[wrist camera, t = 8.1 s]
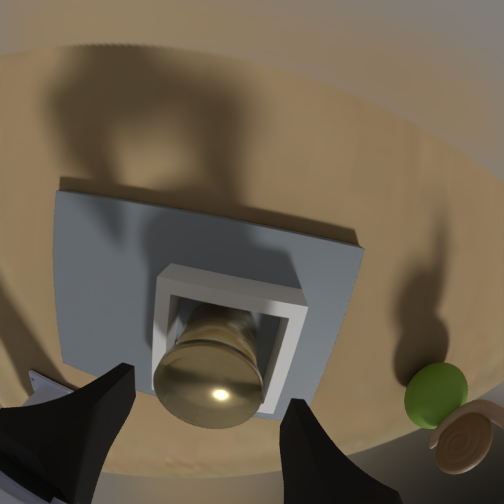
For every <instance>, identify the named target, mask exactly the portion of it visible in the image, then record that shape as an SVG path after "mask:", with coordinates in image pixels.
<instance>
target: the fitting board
mask: <svg viewBox="0 0 504 504" xmlns="http://www.w3.org/2000/svg"><path fill="white" fill-rule="evenodd" d="M364 250H365V249H364V248H363V247H361V246H360V245H356V244H351V243H347V242H343V241H338V240H334V239H329V238H325V237H320V236H315V235H311V234H306V233H301V232H297V231H292V230H287V229H282V228H278V227H273V226H268V225H263V224H258V223H253V222H248V221H243V220H238V219H233V218H228V217H222V216H217V215H212V214H207V213H201V212H196V211H190V210H185V209H179V208H174V207H168V206H162V205H157V204H151V203H145V202H139V201H133V200H127V199H121V198H115V197H109V196H102V195H96V194H89V193H83V192H76V191H69V190H58V191H56V197H55V210H54V231H53V271H54V292H55V305H56V315H57V324H58V332H59V339H60V346H61V352H62V358H63V363H65V364H68V365H70V366H72V367H75V368H77V369H79V370H82V371H84V372H87V373H89V374H92V375H94V376H97V377H101V376H102V375H104V374H105V373H107V372H108V371H110V370H111V369H113V368H114V367H116V366H117V365H119V364H120V363H122V362H124V363H127V364H130V365H133V366H135V390H137V391H140V392H144V393H147V394H150V395H154V396H156V393H155V390H154V386H153V376H154V372H155V370H156V368H157V366H158V364H159V362H160V360H161V358H162V356H163V355H164V354H165V353H166V352H167V351H168V350H169V349H170V348H171V347H173V346H174V345H175V344H176V342H177V340H178V338H179V336H180V334H181V332H182V330H183V328H184V326H185V324H186V323H187V321H188V319H189V317H190V315H191V313H192V312H193V310H194V309H195V308H196V307H197V306H199V305H200V304H202V303H204V302H208V303H212V304H217V305H222V306H227V307H232V308H237V309H242V310H247V311H249V312H250V313H251V315H252V316H253V318H254V320H255V322H256V325H257V362H256V366H257V368H258V370H259V372H260V374H261V377H262V402H261V405H260V407H259V409H258V411H257V412H256V414H255V415H254V416H253V417H258V418H265V419H274V420H283V418H284V415H285V413H286V410H287V408H288V405H289V403H290V400H291V398H297V399H304V400H305V401H306V403H307V404H308V406H309V405H310V403H311V401H312V398H313V396H314V394H315V391H316V389H317V387H318V384H319V382H320V380H321V377H322V375H323V372H324V370H325V367H326V365H327V362H328V360H329V357H330V354H331V352H332V349H333V346H334V344H335V341H336V338H337V336H338V333H339V330H340V327H341V324H342V321H343V318H344V316H345V313H346V310H347V307H348V303H349V300H350V297H351V294H352V291H353V288H354V284H355V281H356V278H357V274H358V271H359V268H360V264H361V261H362V257H363V253H364Z"/></svg>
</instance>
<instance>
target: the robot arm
mask: <svg viewBox="0 0 504 504" xmlns="http://www.w3.org/2000/svg"><path fill="white" fill-rule="evenodd" d="M28 373H29V377H30V380H31V384H32V387H33V390H34V393H33V394H32V395H31V396H30V397H29V399H28V400H27V401H26V402H25V403H24V404H23V405H22V406H21V407H11V408H1V409H0V504H91V502H92V498H93V494H94V491H95V487H96V484H97V481H98V478H99V475H100V472H101V469H102V466H103V464H104V461H105V459H106V456H107V454H108V451H109V449H110V447H111V445H112V443H113V442H114V440H115V438H116V436H117V435H118V433H119V431H120V429H121V428H122V426H123V424H124V422H125V420H126V419H127V417H128V415H129V413H130V410H131V408H132V405H133V403H134V400H135V398H136V392H135V366H133V365H130V364H127V363H124V362H122V363H120V364H119V365H117V366H116V367H114V368H113V369H111V370H110V371H108V372H107V373H105V374H104V375H102V376H101V377H99V378H97V379H96V380H94V381H93V382H91V383H89V384H87V385H86V386H84V387H82V388H80V389H78V390H76V391H73V390H71V389H69V388H67V387H65V386H63V385H60V384H58V383H56V382H54V381H52V380H50V379H48V378H46V377H44V376H42V375H41V374H39V373H37V372H35V371H33V370H30V371H29V372H28ZM279 445H280V455H281V463H282V472H283V480H284V504H403V503H402V500H401V498H400V495H399V493H398V492H397V491H396V490H394V489H392V488H390V487H388V486H386V485H384V484H382V483H380V482H379V481H377V480H375V479H374V478H372V477H371V476H369V475H368V474H366V473H365V472H364V471H362V470H361V469H360V468H359V467H357V466H356V465H355V464H354V463H353V462H352V461H350V460H349V459H348V458H347V457H346V456H345V455H344V454H343V453H342V452H341V451H340V450H339V448H338V447H337V446H336V445H335V444H334V442H333V441H332V440H331V439H330V437H329V436H328V435H327V433H326V432H325V431H324V429H323V428H322V426H321V425H320V423H319V422H318V420H317V419H316V417H315V416H314V414H313V413H312V411H311V409H310V408H309V406H308V404H307V403H306V401H305V400H304V399H297V398H291V400H290V403H289V405H288V408H287V410H286V413H285V415H284V418H283V420H282V423H281V425H280V442H279Z"/></svg>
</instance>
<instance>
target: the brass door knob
mask: <svg viewBox="0 0 504 504" xmlns="http://www.w3.org/2000/svg"><path fill="white" fill-rule="evenodd" d="M256 362H257V325H256V322H255V320H254V318H253V316H252V315H251V313H250V312H249V311H247V310H242V309H237V308H232V307H227V306H222V305H217V304H212V303H208V302H204V303H202V304H200V305H199V306H197V307H196V308H195V309H194V310H193V312H192V313H191V315H190V317H189V319H188V321H187V323H186V324H185V326H184V328H183V330H182V332H181V334H180V336H179V338H178V340H177V342H176V344H175V345H174V346H173V347H171V348H170V349H169V350H168V351H167V352H166V353H165V354H164V355H163V356H162V358H161V360H160V362H159V364H158V366H157V368H156V370H155V372H154V376H153V386H154V390H155V393H156V396H157V397H158V399H159V401H160V402H161V404H162V405H163V406H164V407H165V408H166V409H167V410H168V411H169V412H170V413H171V414H173V415H174V416H176V417H177V418H179V419H180V420H182V421H184V422H187V423H189V424H192V425H194V426H198V427H203V428H209V429H224V428H230V427H234V426H237V425H240V424H242V423H244V422H246V421H248V420H249V419H250V418H252V417H253V416H254V415H255V414H256V412H257V411H258V409H259V407H260V405H261V402H262V377H261V374H260V372H259V370H258V368H257V366H256Z"/></svg>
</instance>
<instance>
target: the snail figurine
mask: <svg viewBox="0 0 504 504" xmlns="http://www.w3.org/2000/svg"><path fill="white" fill-rule="evenodd" d="M467 395H468V385H467V381H466V378H465V376H464V374H463V373H462V372H461V370H460V369H458V368H457V367H456V366H454V365H452V364H449V363H443V362H440V363H433V364H430V365H428V366H426V367H424V368H422V369H421V370H420V371H418V372H417V373H416V374H415V375H414V377H413V378H412V379H411V381H410V382H409V384H408V386H407V389H406V392H405V398H404V404H405V410H406V413H407V415H408V417H409V418H410V419H411V421H412V422H414V423H415V424H416V425H418V426H420V427H423V428H428V429H434V428H436V429H435V431H434V432H433V435H432V438H431V441H430V445H429V447H430V448H431V449H432V448H434V447H435V446H436V445H437V446H436V450H435V459H436V463H437V465H438V466H439V468H440V469H441V470H442V471H444V472H446V473H449V474H459V473H463V472H466V471H468V470H470V469H472V468H473V467H475V466H476V465H477V464H478V463H479V462H480V461H481V460H482V459H483V458H484V457H485V455H486V454H487V452H488V450H489V448H490V445H491V442H492V438H493V429H492V425H491V422H490V420H491V421H492V422H494V423H496V424H497V425H499V426H500V427H502V428H503V431H504V408H503V407H501V406H499V405H497V404H496V403H493V402H491V401H487V400H482V399H478V400H473V401H471V402H468V403H466V400H467ZM465 403H466V404H465Z"/></svg>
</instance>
